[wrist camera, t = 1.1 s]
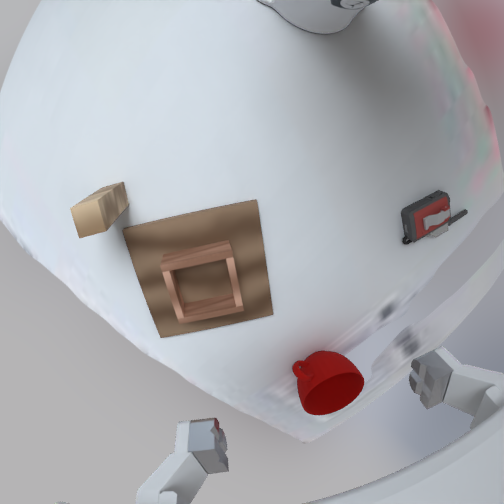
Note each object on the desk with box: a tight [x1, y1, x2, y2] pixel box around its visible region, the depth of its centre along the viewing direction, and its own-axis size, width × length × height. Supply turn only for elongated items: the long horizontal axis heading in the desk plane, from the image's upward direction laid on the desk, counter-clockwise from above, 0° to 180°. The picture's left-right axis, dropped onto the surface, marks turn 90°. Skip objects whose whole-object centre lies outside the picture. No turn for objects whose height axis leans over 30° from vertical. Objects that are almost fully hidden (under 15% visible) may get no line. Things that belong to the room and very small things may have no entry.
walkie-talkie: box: [401, 190, 468, 244], centre depth 48 cm, size 9×4×20 cm
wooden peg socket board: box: [122, 200, 273, 338], centre depth 43 cm, size 20×20×5 cm
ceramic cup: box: [292, 351, 364, 415], centre depth 53 cm, size 13×17×10 cm
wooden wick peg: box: [70, 182, 129, 238], centre depth 33 cm, size 4×4×12 cm
